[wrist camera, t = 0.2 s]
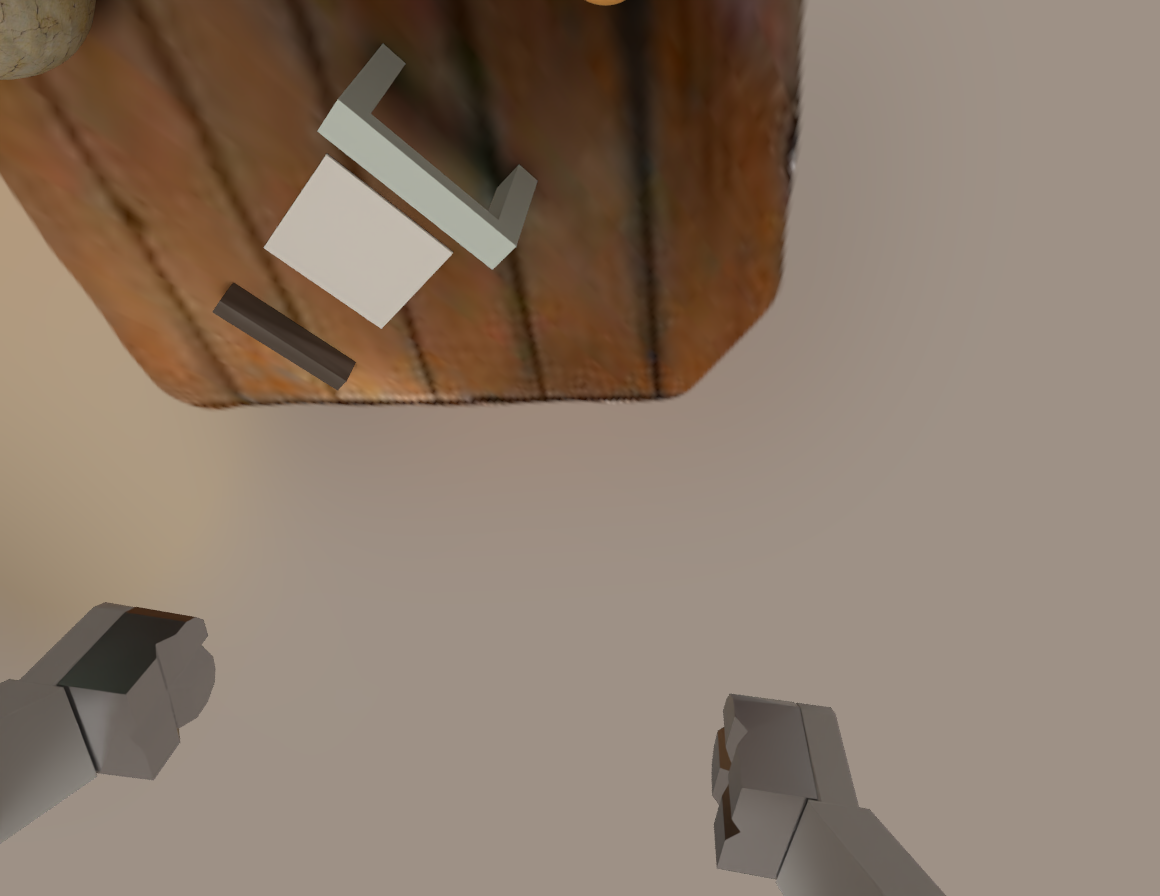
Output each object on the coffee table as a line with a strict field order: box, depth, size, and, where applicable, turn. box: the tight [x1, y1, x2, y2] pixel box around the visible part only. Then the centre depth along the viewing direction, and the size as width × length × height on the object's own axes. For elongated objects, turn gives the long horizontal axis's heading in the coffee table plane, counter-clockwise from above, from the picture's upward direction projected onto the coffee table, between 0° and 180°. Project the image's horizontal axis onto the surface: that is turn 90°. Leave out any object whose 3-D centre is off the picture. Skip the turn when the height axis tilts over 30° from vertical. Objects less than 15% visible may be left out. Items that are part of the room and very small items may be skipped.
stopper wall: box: [213, 283, 356, 390], centre depth 75 cm, size 2×14×3 cm, turn 48°
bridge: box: [318, 44, 537, 270], centre depth 55 cm, size 3×15×10 cm, turn 48°
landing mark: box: [264, 154, 453, 329], centre depth 68 cm, size 13×13×1 cm
